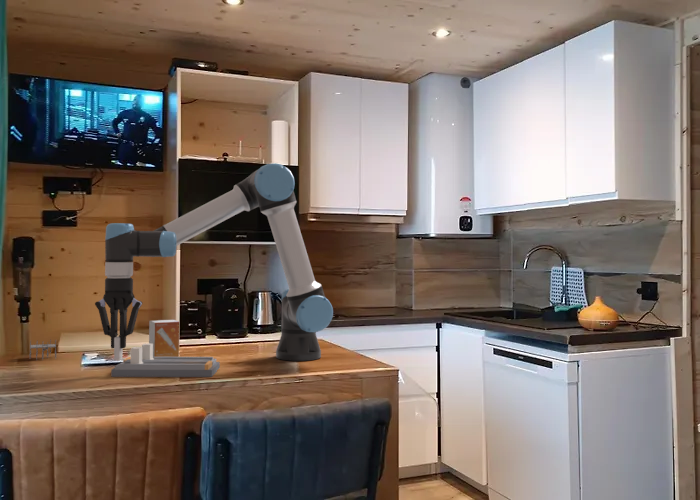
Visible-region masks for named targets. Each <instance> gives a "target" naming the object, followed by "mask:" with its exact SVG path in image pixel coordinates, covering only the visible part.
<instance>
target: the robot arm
mask: <svg viewBox="0 0 700 500" xmlns="http://www.w3.org/2000/svg"><path fill="white" fill-rule="evenodd" d="M295 184H296V183H295V177H294V175H293V173H292V171H291V170H290V169H289V168H288V167H286V166H285V165H283V164H281V163H277V162H276V163H274V162H273V163H267V164H264V165H262V166H260V168H258V169H256V170H255V171H253V172H252V173H251V174H250V175H248V177H246V178H245V179H243V180H242V181H240V182H238V183H236V184H235V185H233V189H232V190H230V191H228V192H226V193H224V194H222V195H219V196H218V197H216V198H214V199H212V200H210V201H208V202H206V203H205V204H203V205H200V206H199V207H197V208H195V209H193V210H191V211H188V212H187V213H184V214H182V215H181V216H180V217H177V218H175V219H174V220H172V221H170V222H168V223H165V224H163V225H162V226H160V227H158V228H156V229H154V230H135V227H134V224H133V223H125V222H124V223H123V222H122V223H121V222H120V223H119V222H117V223H115V222H114V223H113V222H112V223H108V224H107V226H106V227H105V241H104V242H105V244H104V247H105V248H104V249H105V251H104V254H105V265H104V266H105V267H104V270H105V271H104V275H105V277H107V278H105V279H104V294H103V297H102V299H100V300H98V301H96V302H94V306H95V307H96V308H97V311H98V313H99V317H100V322H101V326H102V327H101V328H102V331H103V334H104V335H105V336H108V337H110V348H111V349H113V360H114V361H117V362H118V361H121V360H123V358H124V357H123V354H124V352H123V351H124V350H123V349H125V348H126V347H127V336H130V335H132V334H133V333H134V329H135V325H136V321H137V318H138V315H139V314H138V313H139V311H140V308H141V307H142V306H143V302H142V301H141V300H140V301H139V300H138V299H136V298H135V294H134V278H132V276H133V275H134V257H139V258H140V257H147V258H149V257H150V258H155V257H156V258H158V257H159V258H166V257H167V258H169V257H170V258H171V257H175V256H176V253H177V246H179V245H181V244H182V243H184V242H187V241H189V240H190V239H192V238H194V237H196V236H198V235H200V234H202V233H203V232H205V231H208V230H210V229H212V228H213V227H216V226H217V225H219V224H221V223H222V222H225V221H226V220H228V219H230V218H232V217H234V216H235V215H238V214H240V213H242V212H244V211H246V212H250V211H252V210H254V209H256V208H259V210H260V213H262V214H263V215H265V216H266V217H267V220H268V223H269V226H270V229H271V233H272V236H273V239H274V243H275V247H276V250H277V254H278V255H279V259H280V262H281V266H282V269H283V273H284V276H285V279H286V282H287V286H288V289H285V290H283V291H282V294H281V298H280V300H281V334H280V335H281V336H280V338H279V340H278V341H279V342H278V344H277V348H276V351H275V358H276V359H278V360H283V361H293V362H294V361H295V362H297V361H298V362H300V361H301V362H305V361H313V360H314V361H315V360H318V359H321V357H322V350H321V347H320V344H319V341H318V337H317V332H321V331H323V330H325V329H326V328H327V327H329V325H330V323H331V322H332V320H333V317H334V308H333V305H332V303H331V302H330V300H329V299H328V298H327V297H326V295H325V292H324V289H323V286H322V284H321V283H320V282H318V281H316V279H315V276H314V272H313V269H312V265H311V262H310V258H309V254H308V253H307V249H306V248H307V247H306V245H305V242H304V239H303V235H302V233H301V229H300V228H301V227H300V225H299V222H298V219H297V215H296V212H295V206H296V204H297V202H298V201H297V199H296V195H295V191H294V189H295ZM130 305H132V306H131V307H132V308H131V312H130V315H129V319H128V308H129V307H130ZM106 306H107V307H108V308H109V313H110V321H109V318H108V317H109V316H108V312H107V308H106ZM127 319H128V320H127ZM118 321H119V324H118ZM118 325H119V333H118Z"/></svg>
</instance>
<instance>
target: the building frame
mask: <svg viewBox="0 0 700 500" xmlns="http://www.w3.org/2000/svg"><path fill="white" fill-rule="evenodd" d="M38 340H39V339H38ZM38 340H36V344H32V340H30V342H29V358H32V349H36V351H35V352H36V353H35V357H36V361H38V353H39V352H38V351H39V350H38V349H42V350H41V351H42V352H41V359H42V361H44V359H45V358H44V357H45V351H46V357H49V355H51V354H52V350H51V349H52V348H54V349H55V350H54V359H55V360H56V359H57V339H55V341H54V343H55V344H54V343H53V344H52V339H50V341H49V343H47V344H44V342H41V343H42V344H38Z"/></svg>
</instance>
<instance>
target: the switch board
mask: <svg viewBox="0 0 700 500" xmlns="http://www.w3.org/2000/svg"><path fill="white" fill-rule="evenodd" d="M153 358H154V360H149V359H142V362H143V364H130V360H131V356H128V357H126V358H124V359H122V362H120V363H118V364H115V366H114V368H112V369H111V370H110V371H111V373H110V374H111V377H113V378H116V377H117V378H119V377H120V378H122V377H123V378H126V377H127V378H130V377H131V378H213V376H214V375H215V374H216V373H217V372H218V371H219V370H220V369H219V368H220V365H221V363H220V361H217V358H214V356H179V357H153ZM218 369H219V370H218ZM217 370H218V371H217Z"/></svg>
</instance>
